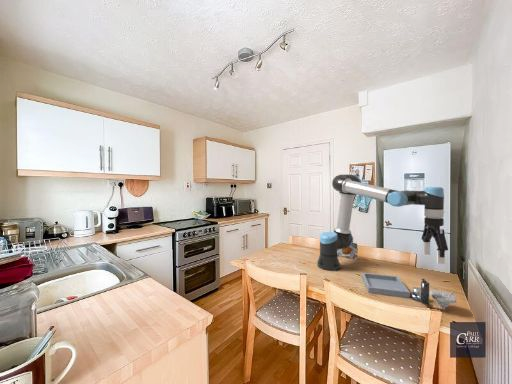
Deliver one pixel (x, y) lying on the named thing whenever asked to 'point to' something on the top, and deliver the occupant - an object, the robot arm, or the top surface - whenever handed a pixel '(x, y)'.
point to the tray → (385, 285)
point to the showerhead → (443, 298)
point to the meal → (349, 251)
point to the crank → (422, 292)
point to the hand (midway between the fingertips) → (433, 258)
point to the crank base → (414, 297)
